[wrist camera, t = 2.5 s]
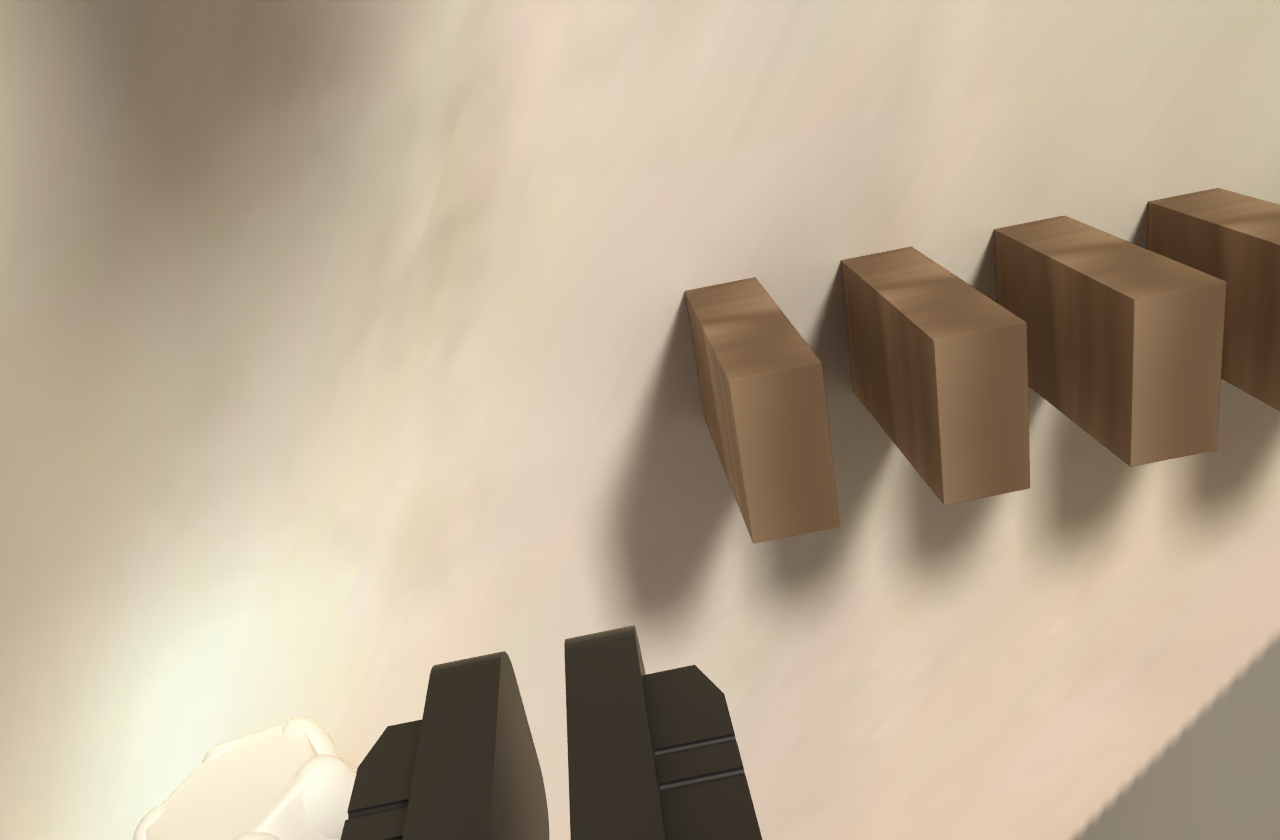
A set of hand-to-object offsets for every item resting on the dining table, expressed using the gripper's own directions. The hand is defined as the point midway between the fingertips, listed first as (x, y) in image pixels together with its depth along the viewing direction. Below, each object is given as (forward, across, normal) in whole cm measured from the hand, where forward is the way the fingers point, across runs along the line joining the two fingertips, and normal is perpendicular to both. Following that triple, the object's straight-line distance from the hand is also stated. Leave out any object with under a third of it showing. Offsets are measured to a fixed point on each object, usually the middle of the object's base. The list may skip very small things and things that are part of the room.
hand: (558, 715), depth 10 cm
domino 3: (+25, +16, -6) cm, 30 cm away
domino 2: (+25, +11, -6) cm, 28 cm away
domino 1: (+25, +5, -6) cm, 26 cm away
